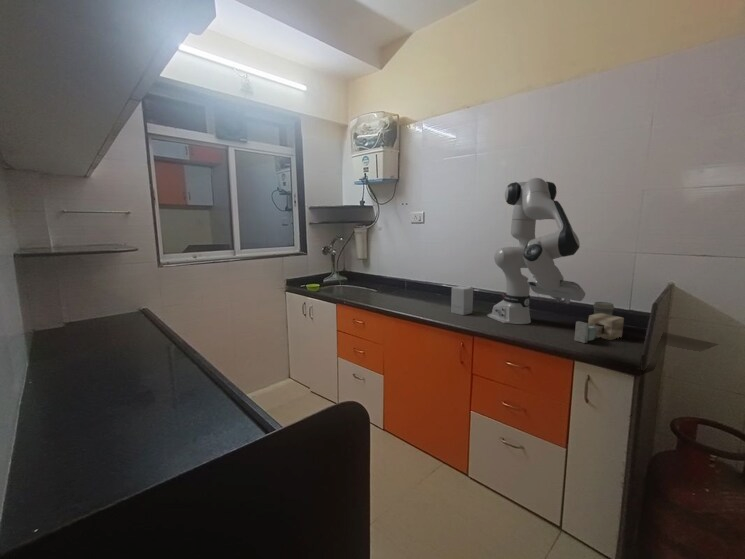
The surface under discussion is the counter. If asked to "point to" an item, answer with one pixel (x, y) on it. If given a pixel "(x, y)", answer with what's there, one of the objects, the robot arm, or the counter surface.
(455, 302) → the supplement box
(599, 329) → the grey elongated piece
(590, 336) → the pale teal block
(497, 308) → the robot arm
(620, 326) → the block
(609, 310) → the coffee cup
